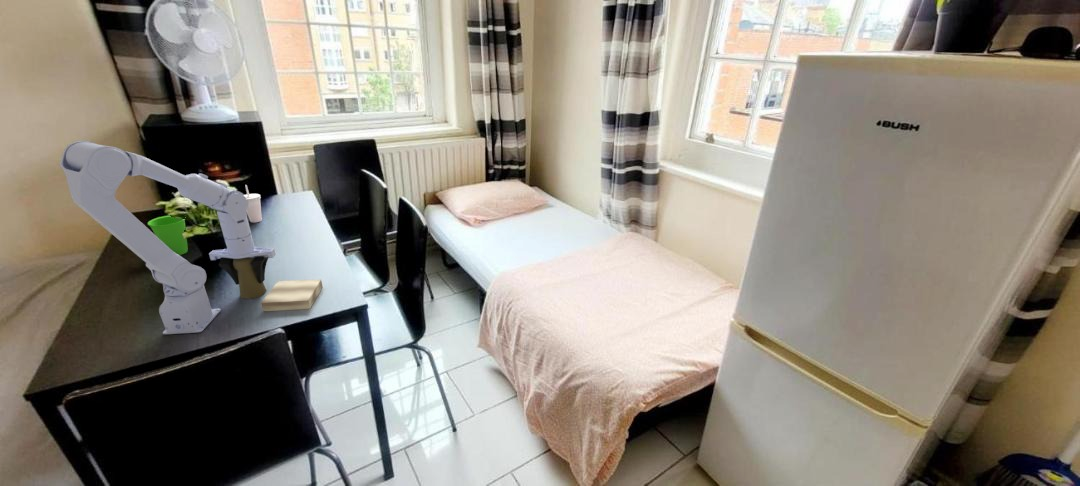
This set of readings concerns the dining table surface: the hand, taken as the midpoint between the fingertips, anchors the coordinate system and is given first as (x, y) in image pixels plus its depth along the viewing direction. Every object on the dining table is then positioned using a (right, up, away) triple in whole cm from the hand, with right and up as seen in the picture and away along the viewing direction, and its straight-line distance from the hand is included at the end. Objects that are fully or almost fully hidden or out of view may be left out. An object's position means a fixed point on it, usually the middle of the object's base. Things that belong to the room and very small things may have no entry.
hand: (250, 282), depth 114 cm
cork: (0, -3, +1) cm, 4 cm away
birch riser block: (+12, -4, 0) cm, 13 cm away
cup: (-37, +7, +21) cm, 43 cm away
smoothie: (-30, +19, +47) cm, 59 cm away
